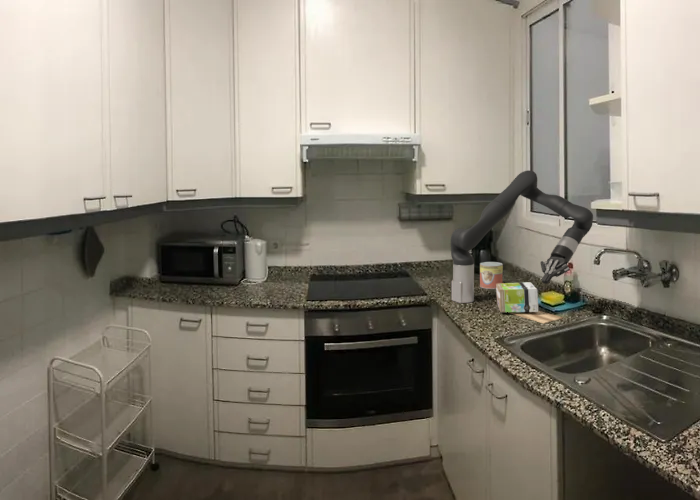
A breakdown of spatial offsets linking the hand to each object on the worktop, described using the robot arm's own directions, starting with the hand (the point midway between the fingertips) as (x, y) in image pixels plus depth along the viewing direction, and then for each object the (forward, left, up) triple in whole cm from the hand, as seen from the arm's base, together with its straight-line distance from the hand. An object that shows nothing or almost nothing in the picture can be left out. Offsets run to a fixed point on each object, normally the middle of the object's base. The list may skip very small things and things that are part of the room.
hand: (544, 282), depth 175 cm
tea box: (-1, +3, -6) cm, 7 cm away
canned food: (+16, +44, -13) cm, 49 cm away
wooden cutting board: (-7, 0, -12) cm, 14 cm away
